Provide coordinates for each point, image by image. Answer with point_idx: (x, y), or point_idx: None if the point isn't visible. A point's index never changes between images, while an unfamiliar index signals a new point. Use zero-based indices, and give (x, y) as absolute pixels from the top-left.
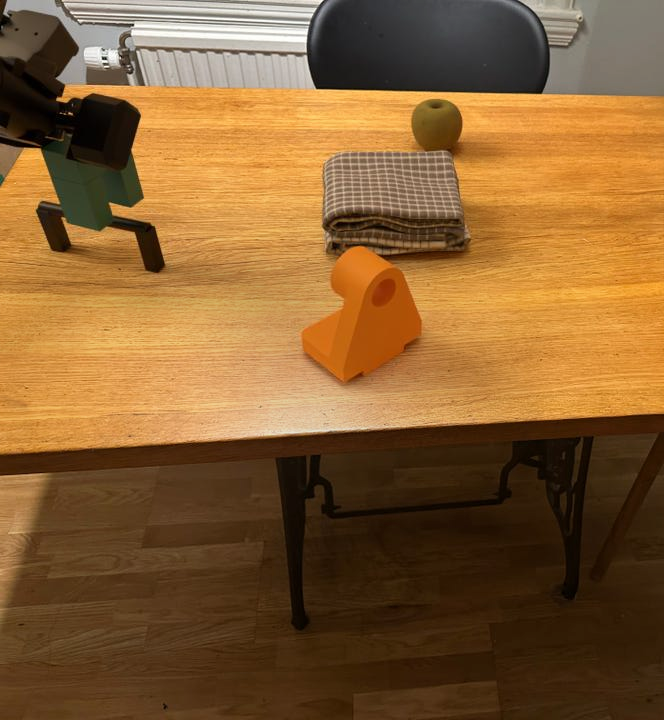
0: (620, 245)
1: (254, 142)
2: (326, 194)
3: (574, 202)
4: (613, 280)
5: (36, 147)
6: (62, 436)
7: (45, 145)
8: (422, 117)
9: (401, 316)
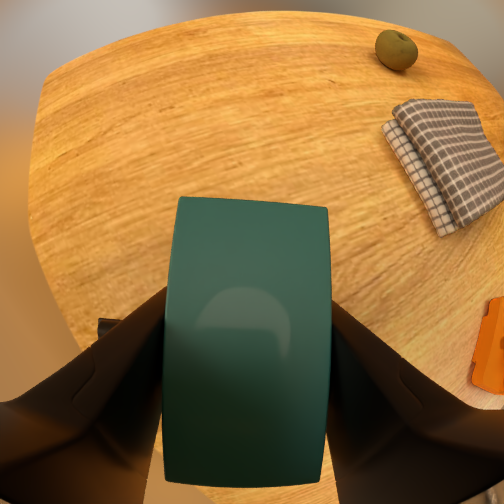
0: None
1: (239, 65)
2: (449, 174)
3: (485, 127)
4: None
5: (146, 475)
6: None
7: (151, 445)
8: (401, 47)
9: None
